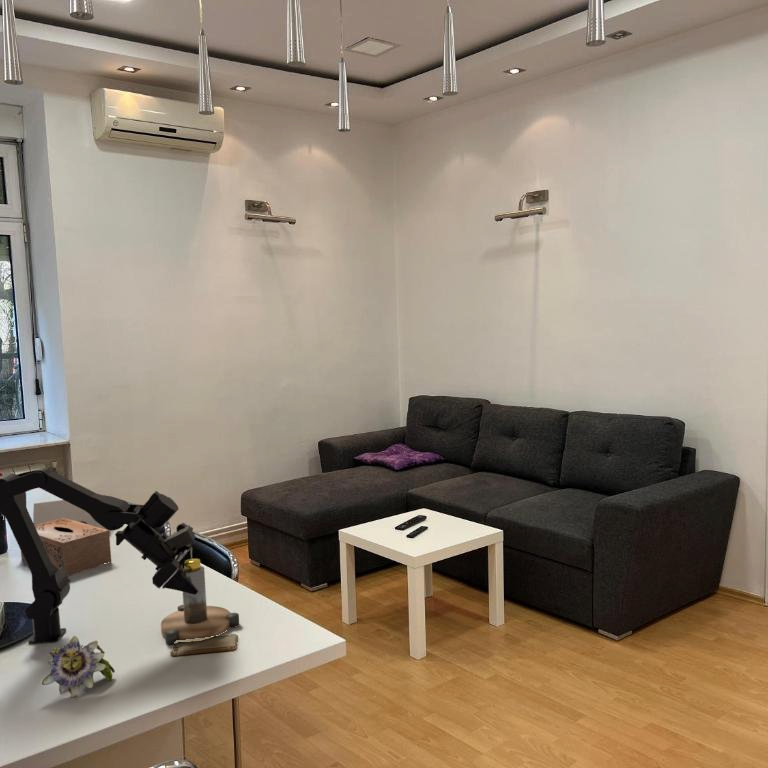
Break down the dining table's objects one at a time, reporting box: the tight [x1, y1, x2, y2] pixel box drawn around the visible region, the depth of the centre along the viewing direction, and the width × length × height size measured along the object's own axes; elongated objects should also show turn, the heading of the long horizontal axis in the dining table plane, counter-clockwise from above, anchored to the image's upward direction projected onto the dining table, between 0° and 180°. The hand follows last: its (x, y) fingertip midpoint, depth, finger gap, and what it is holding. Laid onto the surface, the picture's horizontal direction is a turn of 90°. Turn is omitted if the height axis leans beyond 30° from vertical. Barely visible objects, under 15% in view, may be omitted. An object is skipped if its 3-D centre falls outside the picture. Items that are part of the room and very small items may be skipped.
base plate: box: [160, 604, 240, 646], centre depth 181 cm, size 17×18×2 cm
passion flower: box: [41, 635, 115, 698], centre depth 155 cm, size 11×11×12 cm
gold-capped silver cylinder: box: [182, 558, 208, 624], centre depth 180 cm, size 5×5×14 cm
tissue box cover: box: [20, 518, 112, 577], centre depth 233 cm, size 26×14×10 cm, turn 51°
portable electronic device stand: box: [32, 499, 107, 530], centre depth 259 cm, size 23×23×9 cm
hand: (200, 585), depth 180 cm, fingers open, 9 cm apart
